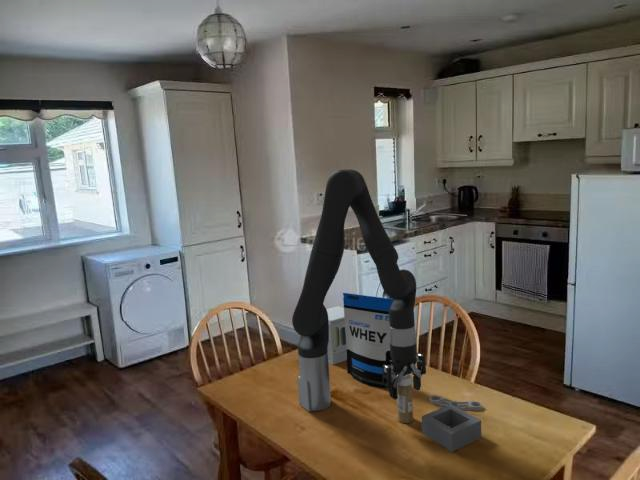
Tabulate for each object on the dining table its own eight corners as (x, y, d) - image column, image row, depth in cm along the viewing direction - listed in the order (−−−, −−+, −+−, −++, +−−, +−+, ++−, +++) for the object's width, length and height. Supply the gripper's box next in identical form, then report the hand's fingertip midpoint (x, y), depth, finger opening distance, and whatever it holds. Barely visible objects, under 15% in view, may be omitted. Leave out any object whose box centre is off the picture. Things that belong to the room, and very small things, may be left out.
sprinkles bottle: (416, 422, 139) (414, 378, 137) (401, 425, 138) (399, 381, 136) (409, 414, 144) (408, 371, 141) (395, 417, 143) (393, 374, 140)
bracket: (438, 389, 155) (483, 402, 145) (438, 395, 155) (484, 408, 145) (426, 399, 149) (473, 412, 139) (426, 405, 149) (473, 419, 140)
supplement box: (332, 365, 181) (329, 320, 178) (313, 355, 192) (310, 312, 189) (360, 356, 188) (358, 312, 185) (340, 346, 199) (338, 305, 196)
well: (451, 452, 124) (451, 434, 123) (422, 433, 134) (421, 416, 133) (481, 437, 130) (481, 420, 129) (450, 420, 139) (450, 404, 138)
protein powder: (354, 368, 178) (350, 289, 173) (415, 382, 163) (412, 297, 158) (340, 378, 170) (335, 296, 165) (403, 394, 156) (399, 305, 151)
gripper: (412, 331, 144) (415, 382, 146) (374, 343, 137) (378, 396, 139) (430, 337, 137) (433, 391, 140) (391, 351, 130) (395, 406, 133)
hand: (405, 393), depth 140 cm, fingers open, 8 cm apart
